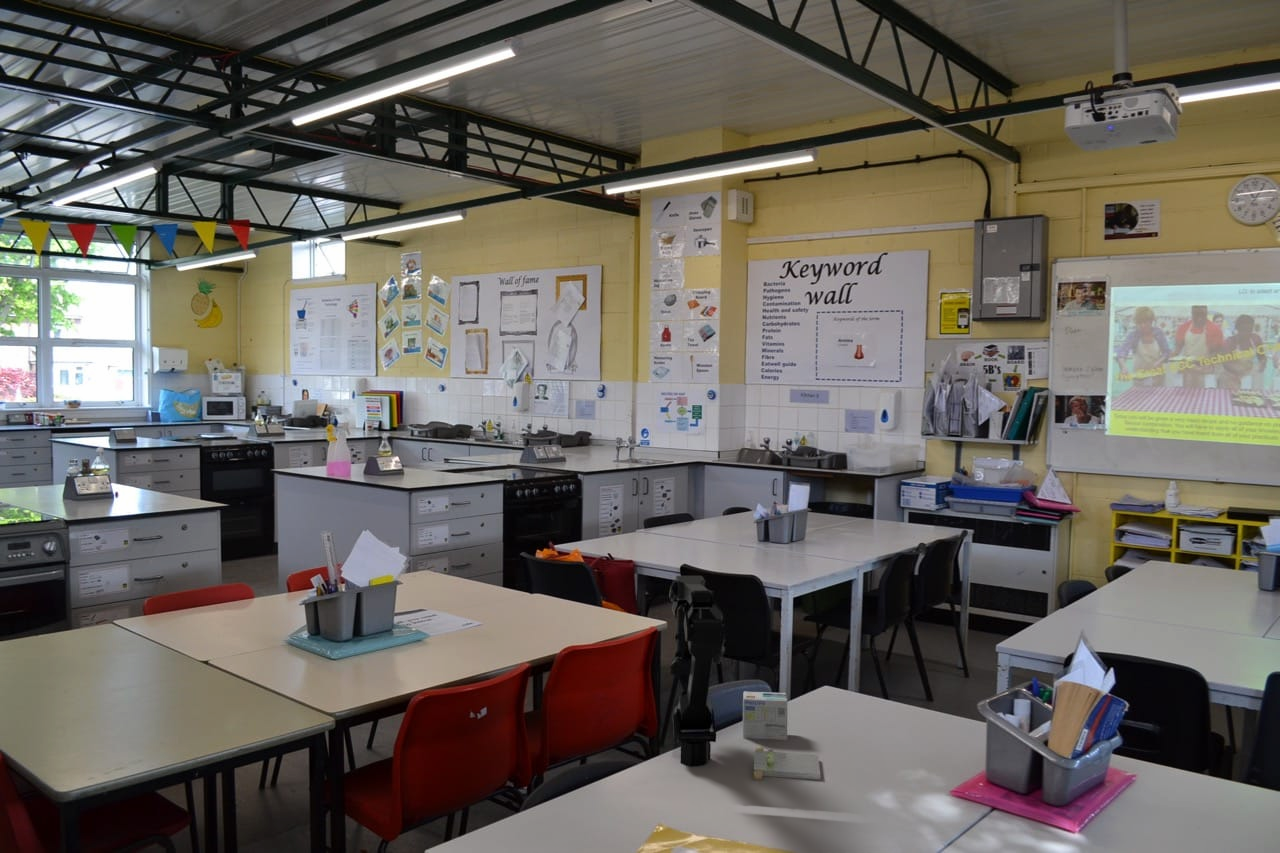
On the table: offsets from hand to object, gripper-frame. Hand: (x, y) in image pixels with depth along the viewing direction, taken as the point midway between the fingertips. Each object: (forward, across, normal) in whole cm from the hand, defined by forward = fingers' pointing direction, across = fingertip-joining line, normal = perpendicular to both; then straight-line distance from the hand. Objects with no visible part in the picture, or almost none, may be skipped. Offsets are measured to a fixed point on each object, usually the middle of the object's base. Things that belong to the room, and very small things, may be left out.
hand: (687, 694), depth 214 cm
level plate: (+11, -12, -23) cm, 28 cm away
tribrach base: (+12, -12, -23) cm, 29 cm away
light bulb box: (+12, +8, -18) cm, 23 cm away
